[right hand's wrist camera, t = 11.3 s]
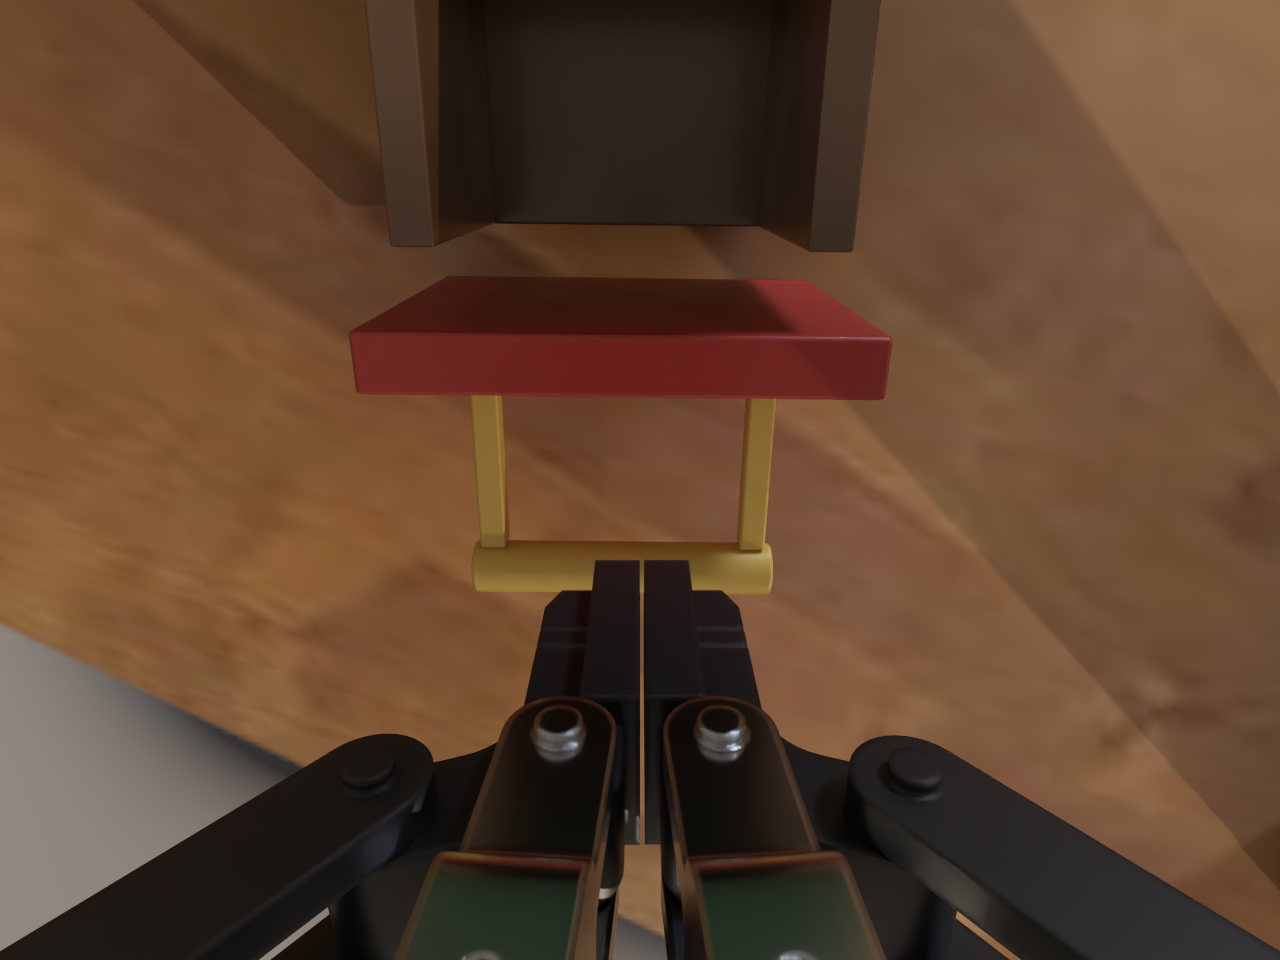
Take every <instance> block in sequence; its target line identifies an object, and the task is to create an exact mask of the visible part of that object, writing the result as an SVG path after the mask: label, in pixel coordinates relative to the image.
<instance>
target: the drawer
mask: <svg viewBox="0 0 1280 960" xmlns="http://www.w3.org/2000/svg"><path fill="white" fill-rule="evenodd" d="M880 2H881V0H365V8H366V17H367V27H368V37H369V46H370V56H371V66H372V75H373V85H374V95H375V104H376V114H377V123H378V133H379V143H380V152H381V162H382V172H383V181H384V191H385V201H386V210H387V220H388V230H389V239H390V244H391V245H392V246H397V247H433V246H435V245H438V244H441V243H443V242H446V241H449V240H451V239H454V238H456V237H459V236H462V235H464V234H467V233H470V232H472V231H475V230H478V229H480V228H483V227H485V226H488V225H491V224H493V223H503V224H582V225H660V226H739V227H761V228H763V229H765V230H767V231H769V232H771V233H773V234H775V235H777V236H779V237H781V238H783V239H785V240H788V241H790V242H792V243H794V244H796V245H798V246H800V247H802V248H804V249H806V250H808V251H810V252H852V251H853V247H854V238H855V229H856V220H857V211H858V202H859V192H860V183H861V174H862V165H863V156H864V147H865V138H866V129H867V120H868V111H869V102H870V93H871V84H872V75H873V66H874V57H875V48H876V39H877V29H878V20H879V11H880ZM349 338H350V346H351V354H352V362H353V369H354V377H355V385H356V390H357V392H358V393H360V394H401V395H470V401H471V415H472V429H473V443H474V457H475V471H476V485H477V499H478V513H479V527H480V540H479V541H477V542H476V544H475V547H474V550H473V556H472V581H473V585H474V588H475V590H477V591H480V592H561V591H562V590H592V585H593V576H594V567H595V560H640V593H644V560H688V561H689V567H690V575H691V583H692V590H722V591H723V592H724V593H725V594H765V595H766V594H768V593H769V592H770V590H771V587H772V580H773V559H772V552H771V549H770V546H769V544H766V543H765V533H766V520H767V508H768V495H769V483H770V470H771V458H772V446H773V433H774V421H775V408H776V399H828V400H881V399H884V397H885V393H886V385H887V378H888V371H889V363H890V356H891V348H892V339H891V337H889V336H888V335H886V334H885V333H883V332H882V331H880V330H879V329H877V328H876V327H874V326H873V325H871V324H870V323H868V322H867V321H866V320H864V319H863V318H861V317H860V316H858V315H857V314H855V313H854V312H852V311H851V310H849V309H848V308H846V307H845V306H843V305H842V304H840V303H839V302H837V301H836V300H834V299H833V298H832V297H830V296H829V295H827V294H826V293H824V292H823V291H821V290H820V289H818V288H817V287H815V286H814V285H812V284H811V283H809V282H808V281H806V280H731V279H650V278H570V277H489V276H448V277H446V278H444V279H442V280H440V281H439V282H437V283H435V284H433V285H431V286H430V287H428V288H426V289H424V290H423V291H421V292H419V293H417V294H416V295H414V296H412V297H410V298H408V299H407V300H405V301H403V302H401V303H400V304H398V305H396V306H394V307H393V308H391V309H389V310H387V311H385V312H384V313H382V314H380V315H378V316H377V317H375V318H373V319H371V320H369V321H368V322H366V323H364V324H362V325H361V326H359V327H357V328H355V329H354V330H352V331H350V334H349ZM502 396H572V397H657V398H743V399H746V405H745V420H744V436H743V451H742V466H741V482H740V497H739V512H738V528H737V541H738V543H711V542H619V541H526V540H508V539H509V521H508V503H507V485H506V467H505V449H504V432H503V414H502Z"/></svg>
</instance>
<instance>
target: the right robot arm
mask: <svg viewBox="0 0 1280 960" xmlns="http://www.w3.org/2000/svg"><path fill="white" fill-rule="evenodd" d="M644 778H645V844H661V906H662V915H663V924H664V932H665V941H666V950H667V959H668V960H1009V959H1008V958H1006V957H1005V956H1004V955H1003V954H1001V953H1000V952H999V951H997V950H996V949H995V948H993V947H992V946H991V945H990V944H988V943H987V942H986V941H984V940H983V939H982V938H981V937H979V936H978V935H977V934H975V933H974V932H973V931H971V930H970V929H969V928H968V927H966V926H965V925H964V924H962V923H961V922H960V921H959V920H957V919H956V913H957V911H958V912H960V913H961V914H962V915H963V916H965V917H966V918H967V919H969V920H970V921H971V922H973V923H974V924H975V925H977V926H978V927H979V928H981V929H982V930H983V931H984V932H986V933H987V934H988V935H990V936H991V937H992V938H994V939H995V940H996V941H998V942H999V943H1000V944H1001V945H1003V946H1004V947H1005V948H1007V949H1008V950H1009V951H1011V952H1012V953H1013V954H1015V955H1016V956H1017V957H1018V958H1020V959H1021V960H1280V951H1278V950H1277V949H1275V948H1273V947H1272V946H1270V945H1268V944H1267V943H1265V942H1264V941H1262V940H1260V939H1259V938H1257V937H1255V936H1254V935H1252V934H1250V933H1249V932H1247V931H1245V930H1244V929H1242V928H1240V927H1239V926H1237V925H1235V924H1234V923H1232V922H1230V921H1229V920H1227V919H1225V918H1224V917H1222V916H1221V915H1219V914H1217V913H1216V912H1214V911H1212V910H1211V909H1209V908H1207V907H1206V906H1204V905H1202V904H1201V903H1199V902H1197V901H1196V900H1194V899H1192V898H1191V897H1189V896H1187V895H1186V894H1184V893H1182V892H1181V891H1179V890H1178V889H1176V888H1174V887H1173V886H1171V885H1169V884H1168V883H1166V882H1164V881H1163V880H1161V879H1159V878H1158V877H1156V876H1154V875H1153V874H1151V873H1149V872H1148V871H1146V870H1144V869H1143V868H1141V867H1139V866H1138V865H1136V864H1135V863H1133V862H1131V861H1130V860H1128V859H1126V858H1125V857H1123V856H1121V855H1120V854H1118V853H1116V852H1115V851H1113V850H1111V849H1110V848H1108V847H1106V846H1105V845H1103V844H1101V843H1100V842H1098V841H1096V840H1095V839H1093V838H1092V837H1090V836H1088V835H1087V834H1085V833H1083V832H1082V831H1080V830H1078V829H1077V828H1075V827H1073V826H1072V825H1070V824H1068V823H1067V822H1065V821H1063V820H1062V819H1060V818H1058V817H1057V816H1055V815H1053V814H1052V813H1050V812H1049V811H1047V810H1045V809H1044V808H1042V807H1040V806H1039V805H1037V804H1035V803H1034V802H1032V801H1030V800H1029V799H1027V798H1025V797H1024V796H1022V795H1020V794H1019V793H1017V792H1015V791H1014V790H1012V789H1010V788H1009V787H1007V786H1006V785H1004V784H1002V783H1001V782H999V781H997V780H996V779H994V778H992V777H991V776H989V775H987V774H986V773H984V772H982V771H981V770H979V769H977V768H976V767H974V766H972V765H971V764H969V763H967V762H966V761H964V760H963V759H961V758H959V757H958V756H956V755H954V754H953V753H951V752H949V751H948V750H946V749H944V748H942V747H940V746H938V745H936V744H933V743H931V742H928V741H925V740H922V739H918V738H913V737H908V736H897V735H895V736H882V737H877V738H874V739H871V740H868V741H866V742H865V743H863V744H861V745H860V746H859V747H858V748H857V749H856V750H855V751H854V753H853V754H852V756H851V759H850V762H848V761H844V760H840V759H835V758H831V757H827V756H823V755H819V754H815V753H812V752H809V751H806V750H804V749H801V748H799V747H797V746H795V745H793V744H791V743H789V742H788V741H786V740H785V739H783V738H782V737H781V736H780V734H779V731H778V729H777V727H776V725H775V723H774V721H773V720H772V719H771V717H770V716H769V715H768V714H766V713H765V712H764V711H763V710H762V708H761V704H760V699H759V695H758V690H757V686H756V682H755V677H754V673H753V668H752V664H751V659H750V655H749V650H748V648H747V642H746V637H745V633H744V631H743V624H742V619H741V615H740V611H739V607H738V606H737V605H736V604H735V603H734V602H733V601H732V600H731V599H730V598H729V597H728V596H727V595H726V594H725V593H724V592H723V591H722V590H692V583H691V575H690V567H689V561H688V560H644ZM624 845H640V560H595V567H594V576H593V585H592V590H562V591H561V592H560V593H559V594H558V595H557V596H556V597H555V598H554V599H553V600H552V601H551V602H550V603H549V604H548V605H547V606H546V607H545V611H544V616H543V620H542V625H541V632H540V634H539V639H538V644H537V648H536V653H535V657H534V662H533V667H532V671H531V676H530V681H529V685H528V690H527V694H526V699H525V704H524V706H523V707H521V708H520V709H519V710H517V711H516V712H515V713H514V714H512V715H511V716H510V717H509V719H508V720H507V721H506V723H505V725H504V727H503V729H502V731H501V734H500V737H499V740H498V742H497V743H495V744H493V745H491V746H489V747H487V748H485V749H482V750H480V751H478V752H475V753H471V754H468V755H464V756H460V757H456V758H451V759H447V760H443V761H439V762H435V763H433V758H432V755H431V753H430V751H429V750H428V748H427V747H426V746H425V745H424V744H422V743H421V742H420V741H418V740H416V739H414V738H411V737H408V736H405V735H399V734H377V735H371V736H366V737H362V738H359V739H355V740H353V741H350V742H348V743H345V744H343V745H341V746H340V747H338V748H336V749H334V750H332V751H331V752H329V753H327V754H326V755H324V756H322V757H321V758H319V759H318V760H316V761H314V762H313V763H311V764H309V765H308V766H306V767H304V768H303V769H301V770H299V771H298V772H296V773H294V774H293V775H291V776H289V777H288V778H286V779H284V780H283V781H281V782H279V783H278V784H276V785H275V786H273V787H271V788H270V789H268V790H266V791H265V792H263V793H261V794H260V795H258V796H256V797H255V798H253V799H251V800H250V801H248V802H246V803H245V804H243V805H241V806H240V807H238V808H236V809H235V810H233V811H232V812H230V813H228V814H227V815H225V816H223V817H222V818H220V819H218V820H217V821H215V822H213V823H212V824H210V825H208V826H207V827H205V828H203V829H202V830H200V831H198V832H197V833H195V834H193V835H192V836H190V837H189V838H187V839H185V840H184V841H182V842H180V843H179V844H177V845H175V846H174V847H172V848H170V849H169V850H167V851H165V852H164V853H162V854H160V855H159V856H157V857H156V858H154V859H152V860H150V861H149V862H147V863H146V864H144V865H142V866H141V867H139V868H137V869H136V870H134V871H132V872H131V873H129V874H127V875H126V876H124V877H122V878H121V879H119V880H117V881H116V882H114V883H112V884H111V885H109V886H107V887H106V888H104V889H103V890H101V891H99V892H98V893H96V894H94V895H93V896H91V897H89V898H88V899H86V900H84V901H83V902H81V903H79V904H78V905H76V906H74V907H73V908H71V909H70V910H68V911H66V912H65V913H63V914H61V915H60V916H58V917H56V918H55V919H53V920H51V921H50V922H48V923H46V924H45V925H43V926H41V927H40V928H38V929H36V930H35V931H33V932H31V933H30V934H28V935H27V936H25V937H23V938H22V939H20V940H18V941H17V942H15V943H13V944H12V945H10V946H8V947H7V948H5V949H3V950H2V951H0V960H259V959H260V958H261V957H263V956H264V955H265V954H267V953H268V952H269V951H271V950H272V949H273V948H275V947H276V946H277V945H279V944H280V943H281V942H282V941H284V940H285V939H286V938H288V937H289V936H290V935H292V934H293V933H294V932H296V931H297V930H298V929H299V928H301V927H302V926H303V925H305V924H306V923H307V922H309V921H310V920H311V919H313V918H314V917H315V916H317V915H318V914H319V913H320V912H322V911H323V910H324V909H326V908H327V907H328V909H329V915H328V916H327V917H325V918H324V919H323V920H322V921H320V922H319V923H318V924H316V925H315V926H314V927H312V928H311V929H310V930H309V931H307V932H306V933H305V934H303V935H302V936H301V937H300V938H298V939H297V940H296V941H294V942H293V943H292V944H290V945H289V946H288V947H287V948H285V949H284V950H283V951H281V952H280V953H279V954H277V955H276V956H275V957H274V958H272V959H271V960H612V959H613V950H614V941H615V932H616V923H617V915H618V906H619V885H620V883H621V880H622V877H623V871H624Z"/></svg>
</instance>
